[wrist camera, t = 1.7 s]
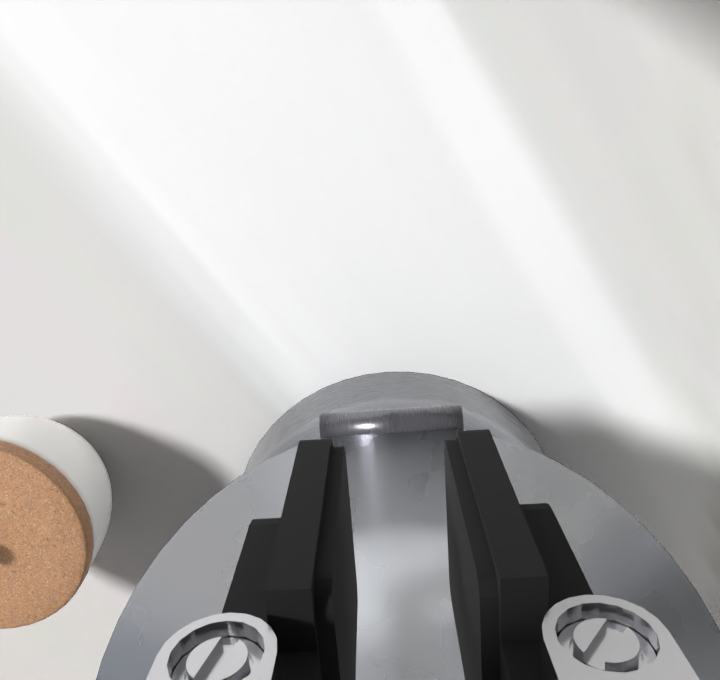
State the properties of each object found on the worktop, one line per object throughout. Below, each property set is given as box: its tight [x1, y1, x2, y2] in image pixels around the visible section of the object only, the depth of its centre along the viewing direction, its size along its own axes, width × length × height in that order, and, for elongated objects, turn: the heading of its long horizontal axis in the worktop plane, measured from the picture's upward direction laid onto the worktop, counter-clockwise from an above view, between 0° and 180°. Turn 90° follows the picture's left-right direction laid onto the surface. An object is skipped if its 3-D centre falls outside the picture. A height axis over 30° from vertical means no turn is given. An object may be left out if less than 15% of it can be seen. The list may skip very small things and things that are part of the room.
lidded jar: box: [0, 415, 112, 629], centre depth 37 cm, size 11×11×9 cm
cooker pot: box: [244, 372, 545, 474], centre depth 38 cm, size 26×20×10 cm
